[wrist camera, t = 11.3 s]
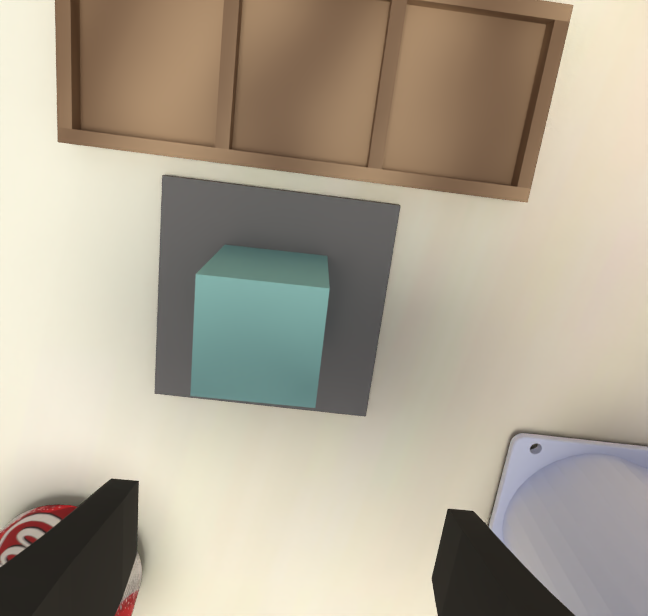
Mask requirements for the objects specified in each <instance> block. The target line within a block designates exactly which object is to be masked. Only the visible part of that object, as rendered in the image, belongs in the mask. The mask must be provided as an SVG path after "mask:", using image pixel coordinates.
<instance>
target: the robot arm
mask: <svg viewBox="0 0 648 616" xmlns="http://www.w3.org/2000/svg"><path fill="white" fill-rule="evenodd" d="M536 443H538V446H537V447H536V448H534V449H530V447H531V445H533V444H536ZM138 488H139V481H132V480H121V479H111V480H109V481H108V482H107V483H105V484H104V485H103V486H102V487H100V488H99V489H98V490H97V491H96V492H95V493H93V494H92V495H91V496H90V497H89V498H88V499H86V500H85V501H84V502H83V503H82V504H80V505H79V506H78V507H77V508H76V509H75V510H73V511H72V512H71V513H70V514H69V515H67V516H66V517H65V518H64V519H62V520H61V521H60V522H59V523H57V524H56V525H55V526H54V527H53V528H51V529H50V530H49V531H48V532H46V533H45V534H44V535H43V536H41V537H40V538H39V539H37V540H36V541H35V542H34V543H32V544H31V545H30V546H28V547H27V548H26V549H24V550H23V551H21V552H20V553H19V554H17V555H16V556H15V557H13V558H12V559H11V560H9V561H8V562H6V563H5V564H4V565H2V566H1V567H0V616H115V614H116V612H117V609H118V607H119V605H120V603H121V600H122V598H123V595H124V592H125V589H126V586H127V583H128V580H129V577H130V574H131V571H132V568H133V565H134V562H135V559H136V555H137V529H138ZM432 583H433V589H434V596H435V602H436V607H437V613H438V616H648V447H647V446H638V445H628V444H619V443H610V442H601V441H592V440H582V439H573V438H564V437H555V436H546V435H536V434H527V433H520V434H517V435H515V436H514V437H513V438H512V440H511V442H510V446H509V450H508V453H507V457H506V461H505V465H504V469H503V473H502V477H501V481H500V485H499V488H498V492H497V496H496V500H495V504H494V508H493V512H492V516H491V519H490V523H489V527H488V526H487V525H486V524H485V523H484V522H483V521H482V520H481V519H480V518H479V516H478V515H477V514H476V513H475V512H474V511H467V510H456V509H448V510H447V515H446V519H445V523H444V527H443V532H442V536H441V540H440V545H439V549H438V553H437V558H436V562H435V566H434V571H433V575H432Z"/></svg>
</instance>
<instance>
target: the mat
mask: <svg viewBox="0 0 648 616" xmlns="http://www.w3.org/2000/svg"><path fill="white" fill-rule="evenodd" d="M399 211H400V205H397V204H389V203H381V202H373V201H365V200H357V199H349V198H342V197H334V196H326V195H318V194H310V193H302V192H294V191H286V190H279V189H271V188H263V187H255V186H247V185H239V184H231V183H223V182H216V181H208V180H200V179H192V178H184V177H176V176H168V175H162V201H161V229H160V257H159V285H158V313H157V341H156V369H155V394H164V395H173V396H182V397H191V398H200V399H210V400H219V401H228V402H237V403H246V404H256V405H265V406H274V407H283V408H292V409H302V410H311V411H320V412H329V413H338V414H348V415H357V416H366V411H367V405H368V399H369V393H370V387H371V381H372V375H373V369H374V363H375V357H376V351H377V345H378V338H379V332H380V326H381V320H382V314H383V308H384V302H385V296H386V290H387V284H388V278H389V272H390V266H391V260H392V254H393V248H394V242H395V236H396V229H397V223H398V217H399ZM224 245H233V246H242V247H251V248H260V249H269V250H278V251H288V252H297V253H306V254H315V255H324V256H327V259H328V273H329V286H330V290H329V298H328V307H327V315H326V323H325V332H324V340H323V348H322V356H321V365H320V373H319V381H318V390H317V398H316V406H315V408H309V407H298V406H288V405H278V404H268V403H258V402H247V401H237V400H227V399H217V398H207V397H196V396H190V393H191V370H192V348H193V325H194V302H195V279H196V273H197V272H198V271H199V270H200V269H201V268H202V267H203V266H204V265H205V264H206V263H207V262H208V261H209V260H210V259H211V258H212V257H213V256H214V255H215V254H216V253H217V252H218V251H219V250H220V249H221V248H222V247H223V246H224Z"/></svg>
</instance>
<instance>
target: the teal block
mask: <svg viewBox="0 0 648 616" xmlns="http://www.w3.org/2000/svg"><path fill="white" fill-rule="evenodd" d="M329 290H330V286H329V273H328V259H327V256H324V255H315V254H306V253H297V252H288V251H278V250H269V249H260V248H251V247H242V246H233V245H224V246H223V247H222V248H221V249H220V250H219V251H218V252H217V253H216V254H215V255H214V256H213V257H212V258H211V259H210V260H209V261H208V262H207V263H206V264H205V265H204V266H203V267H202V268H201V269H200V270H199V271H198V272H197V273H196V279H195V302H194V325H193V348H192V370H191V393H190V396H196V397H207V398H217V399H227V400H237V401H247V402H258V403H268V404H278V405H288V406H298V407H309V408H315V406H316V398H317V390H318V381H319V373H320V365H321V356H322V348H323V340H324V332H325V323H326V315H327V307H328V298H329Z"/></svg>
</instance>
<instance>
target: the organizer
mask: <svg viewBox="0 0 648 616" xmlns="http://www.w3.org/2000/svg"><path fill="white" fill-rule="evenodd" d="M572 9H573V5H569V4H562V3H556V2H549V1H542V0H55V26H56V77H57V127H58V142H62V143H69V144H77V145H85V146H93V147H100V148H108V149H116V150H124V151H131V152H139V153H147V154H155V155H163V156H170V157H178V158H186V159H194V160H201V161H209V162H217V163H225V164H232V165H240V166H248V167H256V168H264V169H271V170H279V171H287V172H295V173H302V174H310V175H318V176H326V177H334V178H341V179H349V180H357V181H365V182H372V183H380V184H388V185H396V186H403V187H411V188H419V189H427V190H435V191H442V192H450V193H458V194H466V195H473V196H481V197H489V198H497V199H505V200H512V201H520V202H528V198H529V194H530V189H531V185H532V181H533V176H534V172H535V168H536V164H537V159H538V155H539V151H540V146H541V142H542V138H543V134H544V129H545V125H546V121H547V116H548V112H549V108H550V104H551V99H552V95H553V91H554V87H555V82H556V78H557V74H558V69H559V65H560V61H561V57H562V52H563V48H564V44H565V39H566V35H567V31H568V27H569V22H570V18H571V14H572Z"/></svg>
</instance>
